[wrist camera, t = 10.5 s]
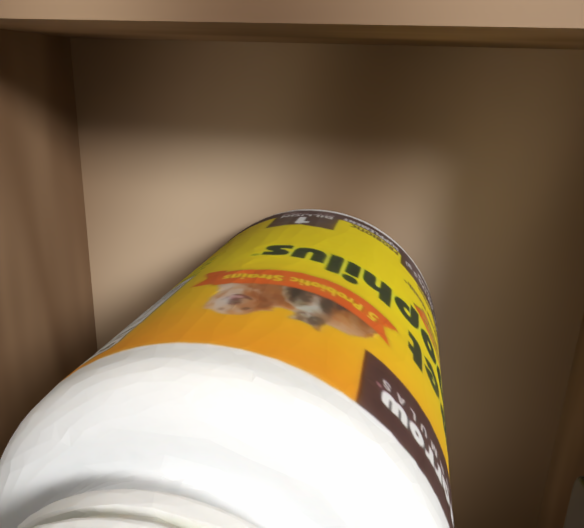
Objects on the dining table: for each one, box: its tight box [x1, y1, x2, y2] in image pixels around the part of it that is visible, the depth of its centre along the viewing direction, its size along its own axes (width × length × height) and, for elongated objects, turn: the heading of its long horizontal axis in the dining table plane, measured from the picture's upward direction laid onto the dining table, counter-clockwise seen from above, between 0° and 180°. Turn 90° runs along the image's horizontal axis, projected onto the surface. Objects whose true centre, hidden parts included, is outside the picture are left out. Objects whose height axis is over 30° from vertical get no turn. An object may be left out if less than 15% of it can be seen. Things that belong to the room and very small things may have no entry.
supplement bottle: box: [0, 209, 455, 528], centre depth 9 cm, size 6×6×10 cm
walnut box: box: [0, 0, 584, 528], centre depth 12 cm, size 14×14×5 cm
